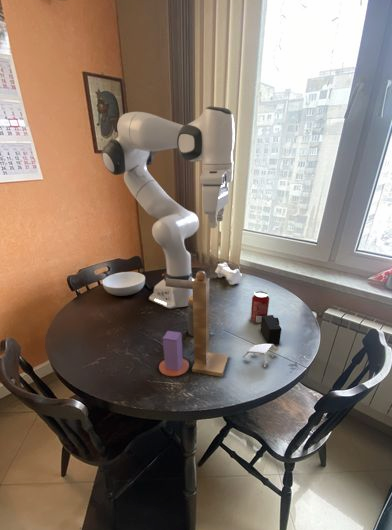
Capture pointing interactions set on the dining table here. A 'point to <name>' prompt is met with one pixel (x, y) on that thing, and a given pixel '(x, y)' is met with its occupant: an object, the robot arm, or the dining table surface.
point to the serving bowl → (124, 283)
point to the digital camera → (270, 329)
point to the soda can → (259, 306)
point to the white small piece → (261, 350)
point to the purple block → (173, 350)
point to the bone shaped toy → (228, 273)
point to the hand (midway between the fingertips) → (216, 224)
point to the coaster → (173, 373)
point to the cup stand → (201, 326)
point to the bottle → (190, 316)
